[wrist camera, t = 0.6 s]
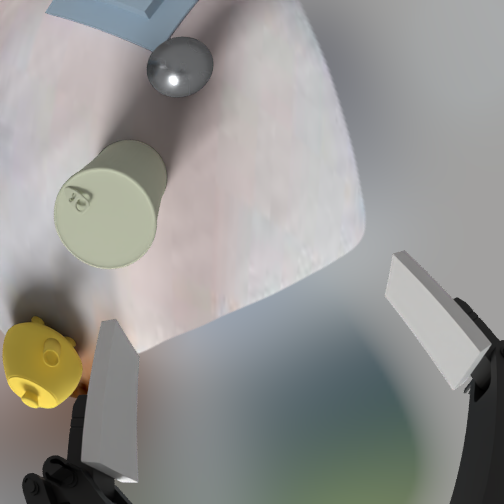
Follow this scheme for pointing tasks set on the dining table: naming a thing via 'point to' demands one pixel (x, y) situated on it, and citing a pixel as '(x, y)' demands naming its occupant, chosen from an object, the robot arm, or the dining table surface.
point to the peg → (180, 67)
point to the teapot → (40, 364)
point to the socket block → (127, 17)
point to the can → (112, 205)
